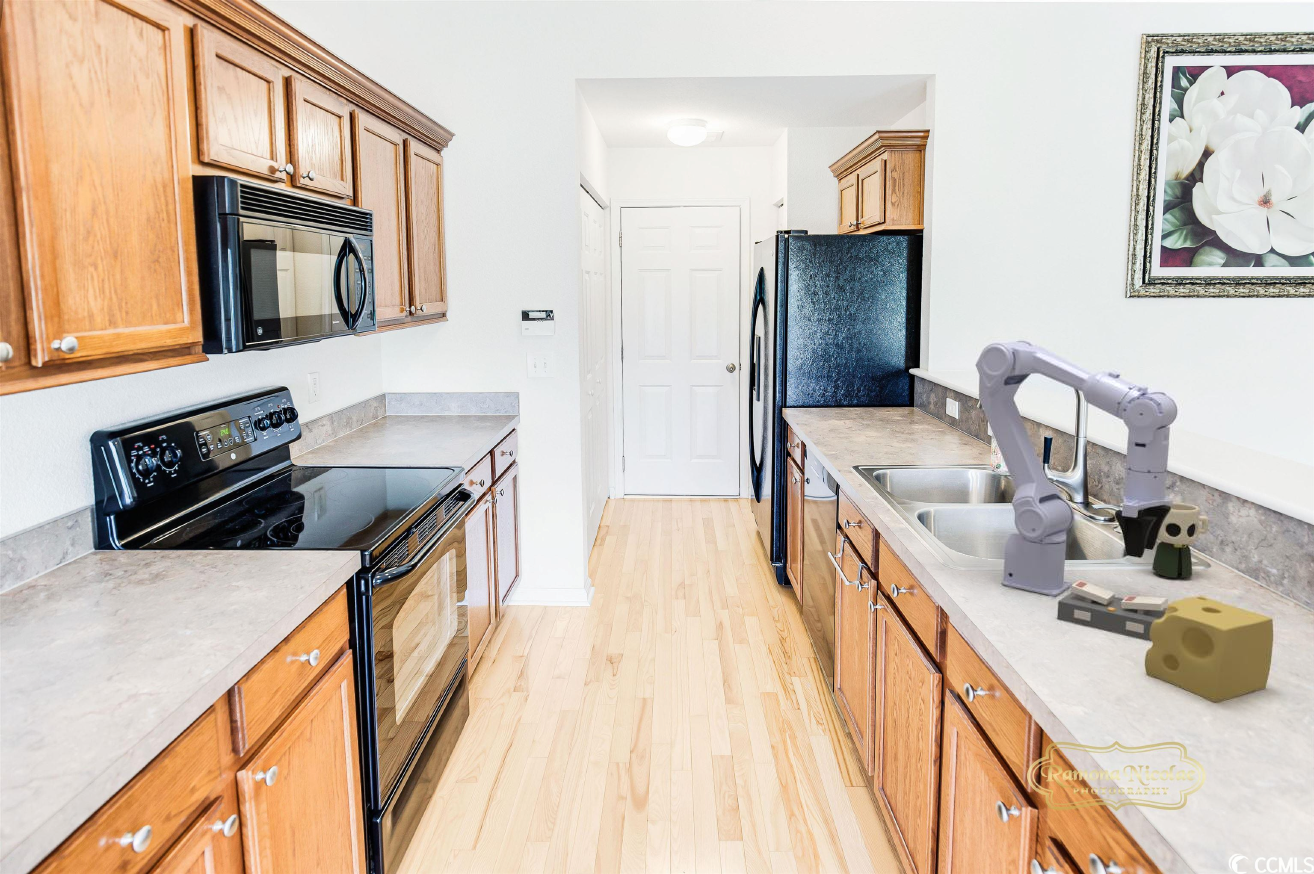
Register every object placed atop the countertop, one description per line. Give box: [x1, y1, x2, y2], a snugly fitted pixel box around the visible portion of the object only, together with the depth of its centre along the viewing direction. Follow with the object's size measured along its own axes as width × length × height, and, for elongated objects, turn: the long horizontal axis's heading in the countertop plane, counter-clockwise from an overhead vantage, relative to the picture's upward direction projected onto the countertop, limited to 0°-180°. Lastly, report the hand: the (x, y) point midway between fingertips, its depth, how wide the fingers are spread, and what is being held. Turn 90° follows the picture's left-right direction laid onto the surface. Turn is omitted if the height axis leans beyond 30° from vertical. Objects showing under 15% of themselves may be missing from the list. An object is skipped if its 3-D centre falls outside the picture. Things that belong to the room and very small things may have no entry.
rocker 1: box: [1069, 580, 1116, 605], centre depth 139 cm, size 6×4×1 cm, turn 46°
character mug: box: [1151, 501, 1209, 578], centre depth 158 cm, size 11×7×13 cm, turn 82°
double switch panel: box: [1057, 591, 1167, 642], centre depth 136 cm, size 15×8×4 cm, turn 45°
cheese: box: [1144, 595, 1274, 703], centre depth 115 cm, size 10×11×10 cm
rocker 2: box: [1121, 595, 1169, 611], centre depth 133 cm, size 6×4×1 cm, turn 45°
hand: (1140, 552), depth 140 cm, fingers open, 5 cm apart
